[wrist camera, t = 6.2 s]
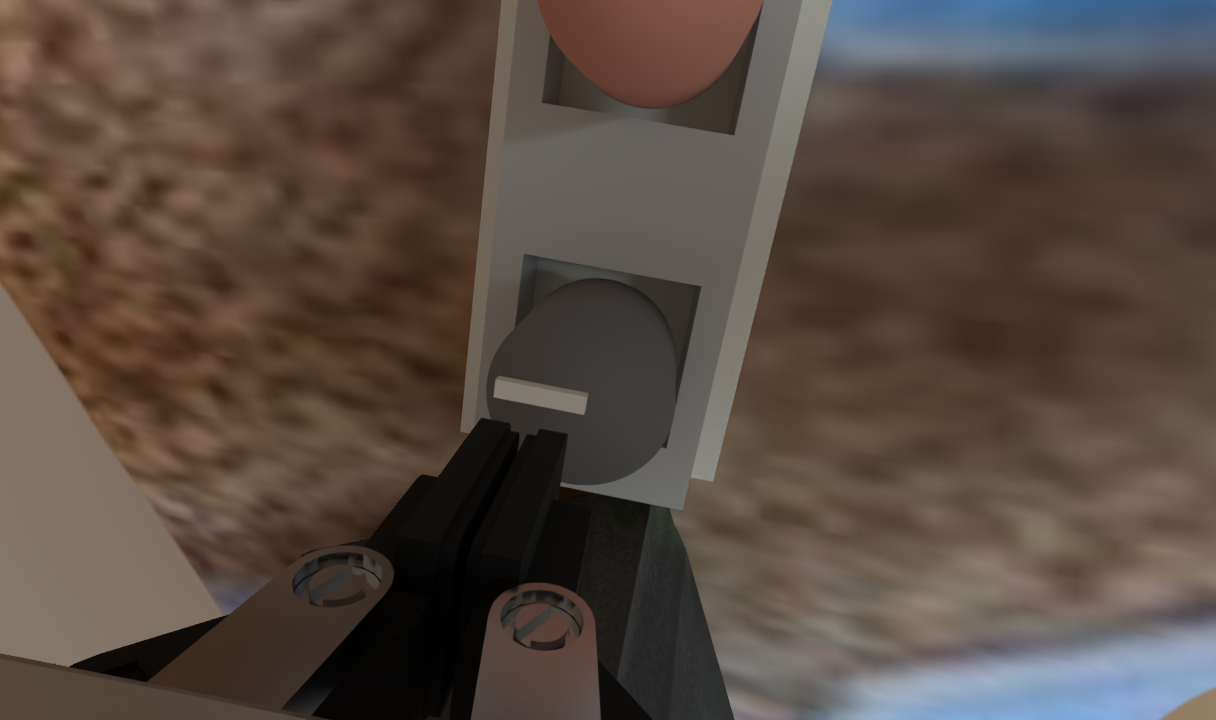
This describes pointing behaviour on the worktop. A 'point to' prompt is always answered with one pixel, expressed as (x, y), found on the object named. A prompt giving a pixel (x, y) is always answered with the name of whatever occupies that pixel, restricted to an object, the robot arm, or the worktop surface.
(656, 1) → the knob mid
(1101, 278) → the worktop surface
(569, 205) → the knob panel
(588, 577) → the bottle
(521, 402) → the knob
